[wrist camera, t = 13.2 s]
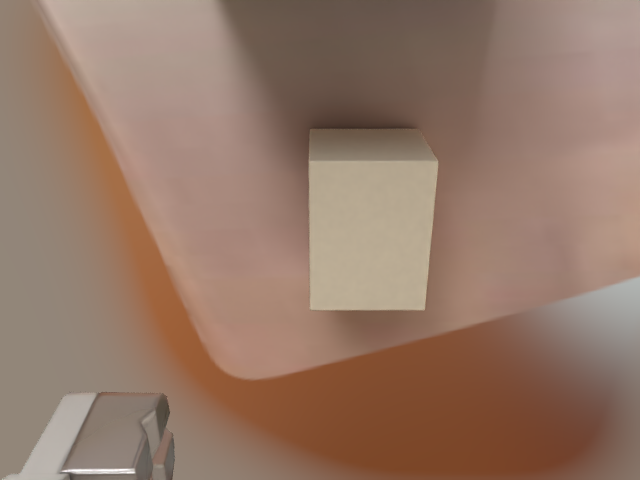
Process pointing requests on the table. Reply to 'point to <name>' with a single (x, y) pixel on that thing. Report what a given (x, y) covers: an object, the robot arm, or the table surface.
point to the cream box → (370, 218)
